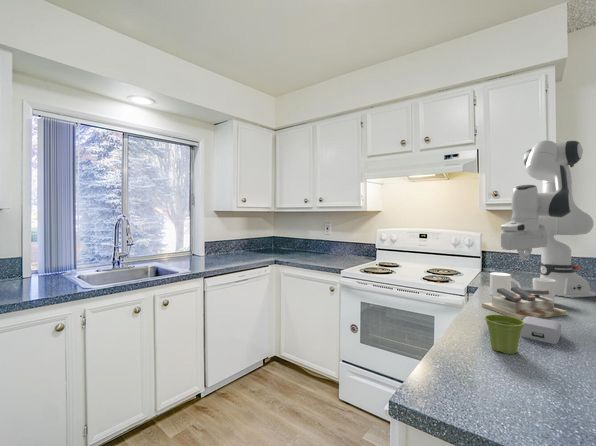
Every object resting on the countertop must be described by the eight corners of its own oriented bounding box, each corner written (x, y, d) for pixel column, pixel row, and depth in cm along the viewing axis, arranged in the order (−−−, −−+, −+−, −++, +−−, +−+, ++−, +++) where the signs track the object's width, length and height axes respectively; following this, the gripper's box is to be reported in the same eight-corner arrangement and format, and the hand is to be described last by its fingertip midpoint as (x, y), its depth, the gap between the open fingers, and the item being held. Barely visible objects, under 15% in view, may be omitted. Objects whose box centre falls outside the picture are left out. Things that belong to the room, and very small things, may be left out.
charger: (562, 331, 101) (557, 345, 90) (528, 324, 107) (519, 336, 97) (562, 317, 101) (557, 329, 90) (528, 311, 107) (519, 322, 97)
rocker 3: (529, 292, 128) (528, 289, 128) (549, 294, 120) (548, 290, 120) (523, 293, 127) (523, 289, 127) (543, 294, 119) (542, 290, 119)
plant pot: (477, 342, 92) (477, 314, 92) (509, 342, 92) (510, 314, 92) (497, 357, 83) (497, 325, 83) (532, 357, 82) (533, 325, 82)
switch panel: (523, 302, 133) (523, 289, 133) (566, 314, 116) (566, 299, 116) (481, 306, 127) (481, 293, 127) (520, 320, 111) (520, 304, 111)
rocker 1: (502, 291, 124) (503, 287, 124) (520, 301, 117) (521, 297, 116) (496, 291, 123) (497, 288, 123) (514, 301, 116) (515, 298, 115)
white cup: (560, 305, 128) (560, 281, 128) (538, 304, 129) (538, 281, 129) (548, 300, 136) (548, 277, 135) (528, 299, 137) (528, 277, 137)
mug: (491, 271, 149) (521, 274, 142) (491, 292, 150) (521, 296, 142) (489, 274, 143) (520, 277, 135) (489, 296, 143) (520, 300, 136)
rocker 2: (516, 289, 126) (517, 286, 125) (534, 300, 118) (536, 296, 118) (510, 290, 125) (511, 286, 124) (528, 300, 118) (529, 297, 117)
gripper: (536, 223, 129) (536, 256, 130) (497, 226, 124) (497, 260, 124) (552, 224, 123) (552, 258, 123) (512, 227, 118) (512, 262, 118)
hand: (524, 259), depth 124 cm, fingers closed
